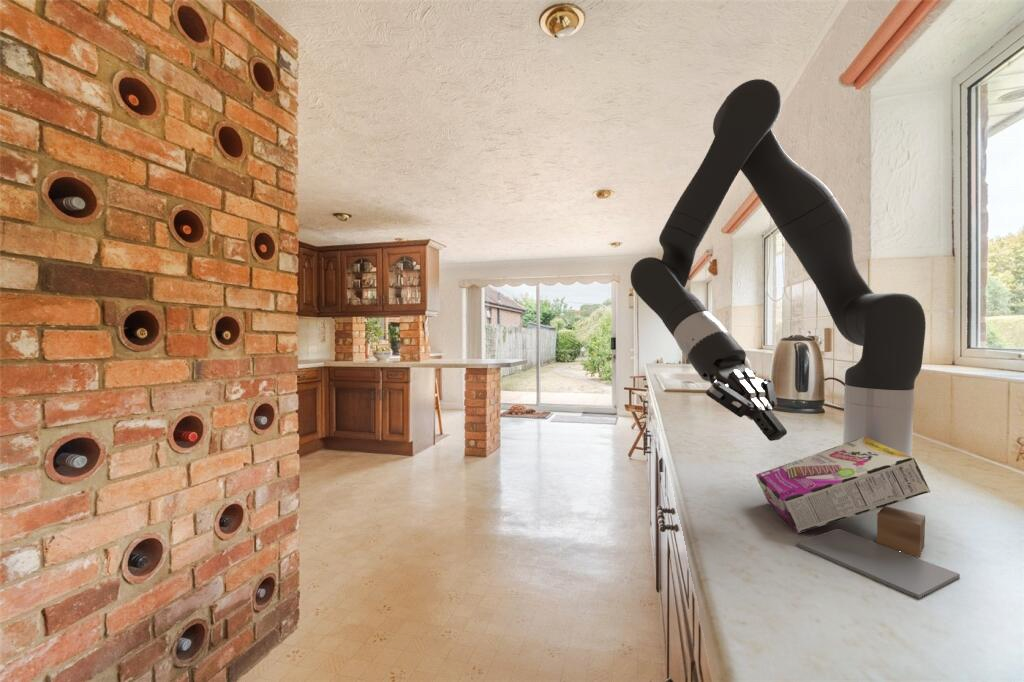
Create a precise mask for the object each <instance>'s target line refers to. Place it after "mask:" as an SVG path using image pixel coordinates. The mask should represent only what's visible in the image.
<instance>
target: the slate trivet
mask: <svg viewBox="0 0 1024 682" xmlns="http://www.w3.org/2000/svg"><path fill="white" fill-rule="evenodd" d="M795 543H796V546H797V547H799V548H801V549H804V550H805V551H808V552H811V553H813V554H815V555H818V556H819V557H821V558H824V559H826V560H828V561H831V562H833V563H835V564H838V565H840V566H842V567H845V568H847V569H850V570H852V571H853V572H856V573H859V574H862V575H863V576H866V577H868V578H869V579H870V578H871V579H872V580H874V581H877V582H879V583H882V584H884V585H886V586H888V587H891V588H893V589H895V590H898V591H900V592H902V593H904V594H907V595H909V596H911V595H912V596H911V597H913V596H915V597H914V598H916V597H917V598H916V599H918V598H919V599H921V598H923V597H925V596H927V595H929V594H931V593H933V592H935V591H936V589H937V590H938V588H939V589H941V588H943V587H944V586H946V585H948V584H950V583H952V582H954V581H956V580H958V579H960V573H958V572H955V571H953V570H950V569H947V568H944V567H942V566H939V565H937V564H935V563H932V562H929V561H926V560H923V559H921V558H919V557H916V556H913V555H910V554H906V553H903V552H899V551H897V550H894V549H891V548H889V547H886V546H883V545H881V544H878V543H876V542H875V541H872V540H869V539H867V538H864V537H861V536H858V535H856V534H853V533H851V532H848V531H845V530H843V529H840V528H836V529H833V530H829V531H827V532H825V533H821V534H818V535H814V536H811V537H808V538H804V539H803V540H802V539H801V540H800V541H796V542H795ZM940 587H941V588H940ZM934 590H935V591H934ZM932 591H933V592H932ZM930 592H931V593H930ZM928 593H929V594H928ZM926 594H927V595H926ZM924 595H925V596H924ZM922 596H923V597H922ZM920 597H921V598H920Z"/></svg>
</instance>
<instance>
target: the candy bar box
mask: <svg viewBox="0 0 1024 682" xmlns="http://www.w3.org/2000/svg"><path fill="white" fill-rule="evenodd" d="M755 478H756V479H757V481H758V484H759V485H760V488H761V490H762V492H763V495H764V497H765V499H766V501H767V503H768V504H769V505H770V506H771V507H772V508H773V509H774V511H776V513H778V514H779V515H780V517H781V518H782V519H783V520H784V521H785V522H786V523H787V524H788V525H789V526H790V527H791V528H792V529H793V530H794V531H795V532H796V533H797V534H799V533H804V532H808V531H809V530H813V529H816V528H819V527H822V526H826V525H829V524H832V523H835V522H838V521H841V520H845V519H848V518H851V517H854V516H858V515H861V514H865V513H868V512H870V511H873V510H877V509H880V508H882V507H884V506H887V507H888V506H891V505H894V504H896V503H898V502H899V503H900V502H902V501H905V500H908V499H912V498H914V497H918V496H921V495H925V494H928V493H931V490H930V487H929V485H928V484H927V481H926V480H925V477H924V475H923V472H922V470H921V469H920V467H919V465H918V463H917V461H916V459H915V457H914V456H912V457H911V456H908V455H906V454H904V453H901V452H899V451H897V450H894V449H892V448H889V447H887V446H885V445H882V444H880V443H878V442H875V441H873V440H871V439H868V438H866V437H862V438H860V439H857V440H854V441H851V442H848V443H845V444H843V443H842V444H840V445H838V446H834V447H832V448H829V449H826V450H823V451H819V452H817V453H815V454H812V455H809V456H807V457H803V458H799V459H797V460H794V461H792V462H789V463H785V464H783V465H780V466H778V467H774V468H772V469H769V470H766V471H762V472H760V473H756V475H755Z"/></svg>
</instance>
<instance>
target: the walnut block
mask: <svg viewBox="0 0 1024 682" xmlns="http://www.w3.org/2000/svg"><path fill="white" fill-rule="evenodd" d="M876 517H877V518H876V542H875V543H878V544H881V545H883V546H886V547H889V548H891V549H894V550H897V551H901V552H902V553H905V554H906V553H907V555H910V554H911V555H910V556H913V555H914V556H913V557H916V556H918V557H917V558H920V557H921V555H922V553H923V551H922V550H924V549H923V548H925V538H926V515H925V514H921V513H916V512H911V511H908V510H903V509H899V508H896V507H890V506H888V505H887V506H884V507H881V509H880V510H879V511H878V512H877V514H876ZM921 552H922V553H921Z"/></svg>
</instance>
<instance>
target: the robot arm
mask: <svg viewBox="0 0 1024 682" xmlns="http://www.w3.org/2000/svg"><path fill="white" fill-rule="evenodd" d="M782 100H783V99H782V95H781V93H780V90H779V89H778V87H777V86H776V85H775V84H774V83H773V82H771V81H770V80H766V79H764V78H763V79H760V78H756V79H750V80H748V81H745V82H743V83H741V84H740V85H738V86H737V87H736V88H734V89H733V90H732V91H730V93H729V94H728V95H727V96H726V97H725V99H724V101H723V103H722V104H721V105H720V107H719V109H718V110H717V112H716V113H715V116H714V119H713V123H712V131H713V135H714V136H713V137H714V138H713V140H712V142H711V144H710V146H709V149H708V151H707V152H706V155H705V157H704V158H703V160H702V162H701V164H700V165H699V167H698V168H697V170H696V172H695V174H694V175H693V177H692V179H691V180H690V181H689V183H688V185H687V186H686V188H685V189H684V190H683V193H682V194H681V196H680V197H679V200H678V201H677V203H676V204H675V206H674V207H673V210H672V211H671V213H670V215H669V218H668V219H667V221H666V222H665V225H664V227H663V228H662V230H661V232H660V235H659V240H658V242H659V245H660V246H661V247H662V250H663V251H662V252H663V253H662V257H661V259H660V258H657V257H653V256H652V257H651V256H649V257H644V258H642V259H640V260H639V261H637V262H635V264H634V265H633V267H632V268H631V271H630V284H631V286H632V289H633V290H634V292H635V293H636V295H637V296H638V297H639V298H640V299H641V300H642V301H643V302H644V303H645V304H646V305H647V306H648V308H650V309H651V310H652V311H653V312H654V313H655V314H656V316H658V318H659V319H660V320H661V321H662V323H663V324H664V327H666V329H667V330H668V332H670V334H671V336H672V338H673V339H675V342H676V344H677V346H678V347H679V349H680V351H682V354H684V356H685V358H687V360H688V362H689V363H690V364H691V366H692V367H693V369H694V370H695V371H696V373H697V374H698V375H699V377H700V378H701V379H702V380H703V381H704V382H710V384H711V385H710V387H709V388H708V389H707V390H706V391H705V394H706V396H707V397H709V398H710V399H712V400H713V401H715V402H717V403H718V404H719V405H721V406H722V407H724V408H725V409H727V410H728V411H730V412H731V413H733V415H735V416H737V417H739V418H742V417H744V416H745V417H746V418H747V419H748V420H751V421H753V422H754V423H755V424H756V426H757V427H758V428H759V429H760V431H761V432H762V434H763V435H764V436H765V437H766V438H767V440H768V441H770V442H774V441H779V440H781V439H782V438H783V437H785V436H786V435H787V433H788V431H787V429H786V428H785V426H784V425H783V424H782V422H781V421H780V420H779V419H778V418H777V416H776V415H775V414H774V412H773V411H772V410H773V408H775V407H776V406H777V405H778V400H777V395H776V391H775V386H774V381H773V379H771V378H769V377H766V378H765V379H761V378H759V377H756V374H755V372H754V371H753V370H752V369H751V368H749V366H747V365H746V362H745V361H746V358H747V353H746V351H745V350H744V349H743V348H742V346H741V345H740V344H739V342H738V341H737V340H736V339H735V338H734V337H733V336H732V335H731V333H730V332H729V331H728V330H727V329H726V328H725V326H724V324H723V323H721V321H719V319H717V318H716V317H715V316H713V314H712V313H711V312H710V311H709V310H708V309H707V308H706V306H705V305H704V304H703V303H702V301H701V300H700V299H699V298H698V297H697V296H695V294H693V293H692V292H690V291H689V290H687V289H686V285H687V283H688V280H689V278H690V274H691V270H692V267H693V264H694V259H695V256H696V251H697V249H698V247H699V245H701V242H702V241H703V239H704V237H705V235H706V233H707V232H708V229H709V228H710V226H711V224H712V223H713V220H714V218H715V217H716V215H717V213H718V211H719V209H720V207H721V205H722V203H723V201H724V199H725V198H726V195H727V194H728V191H729V190H730V188H731V186H732V184H733V182H734V181H735V179H736V178H737V175H738V174H739V172H740V171H741V172H742V174H743V175H744V176H745V178H746V179H747V180H748V182H749V183H750V185H751V186H752V188H753V191H754V192H755V193H756V195H757V197H758V198H759V200H760V202H761V203H762V205H763V207H764V208H765V210H766V211H767V213H768V214H769V216H770V217H771V219H772V220H773V222H774V224H775V226H776V227H777V230H779V232H780V234H781V235H782V237H783V238H784V239H785V242H786V243H787V245H788V246H789V247H790V249H792V251H793V253H794V254H795V255H796V257H797V259H798V260H799V262H800V264H801V265H802V267H803V269H804V270H805V271H806V273H807V275H808V276H809V278H810V279H811V280H812V282H813V283H814V285H815V287H816V288H817V290H818V292H819V294H820V296H821V298H822V300H823V302H824V304H825V306H826V308H827V311H828V312H829V315H830V317H831V318H832V321H833V322H834V323H833V324H834V325H835V326H836V329H837V330H838V332H839V333H840V334H841V336H842V337H843V338H844V339H845V340H847V341H848V342H850V343H851V344H854V345H857V346H859V347H860V346H862V352H861V357H860V360H859V361H858V362H857V363H856V364H854V365H852V366H850V367H848V368H847V369H846V370H845V373H844V374H845V375H844V392H843V393H844V397H843V404H844V405H843V409H844V410H843V430H842V431H843V432H842V445H843V444H845V443H848V442H851V441H854V440H857V439H860V438H862V437H866V438H868V439H871V440H873V441H875V442H878V443H880V444H882V445H885V446H887V447H889V448H892V449H894V450H897V451H899V452H901V453H904V454H906V455H908V456H911V457H913V454H912V453H913V436H914V435H913V433H914V431H913V430H914V402H915V401H914V399H915V398H914V397H915V382H916V378H917V377H918V376H919V374H920V372H921V369H922V366H923V365H922V364H923V356H924V347H925V340H926V339H925V338H926V316H925V315H926V314H925V312H924V309H923V306H922V304H921V302H919V300H918V299H916V298H915V297H914V296H912V295H911V294H908V293H904V292H899V291H898V292H897V291H896V292H895V291H894V292H893V291H892V292H891V291H890V292H882V293H875V292H874V291H873V290H872V289H871V288H870V287H869V285H868V284H867V282H866V280H864V278H863V276H862V275H861V274H860V272H859V270H858V268H857V266H856V262H855V259H854V253H853V235H852V228H851V227H852V226H851V223H850V220H849V217H848V215H847V214H846V212H845V211H844V209H843V208H842V206H841V204H840V203H839V202H838V199H836V197H835V196H834V194H833V192H832V191H831V190H830V189H829V188H828V186H827V185H826V184H825V183H824V182H822V181H821V180H820V179H819V178H818V177H817V176H815V175H814V174H813V173H811V172H809V171H808V170H807V169H805V168H803V167H802V166H801V165H800V164H798V163H797V162H796V161H794V160H793V159H792V158H791V157H790V156H789V155H788V154H787V153H786V151H785V150H784V149H783V147H782V145H781V144H780V142H779V140H778V139H777V137H776V135H775V134H774V131H773V129H772V128H773V127H774V126H775V124H776V123H777V121H778V119H779V117H780V115H781V111H782V103H783V101H782Z"/></svg>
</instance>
